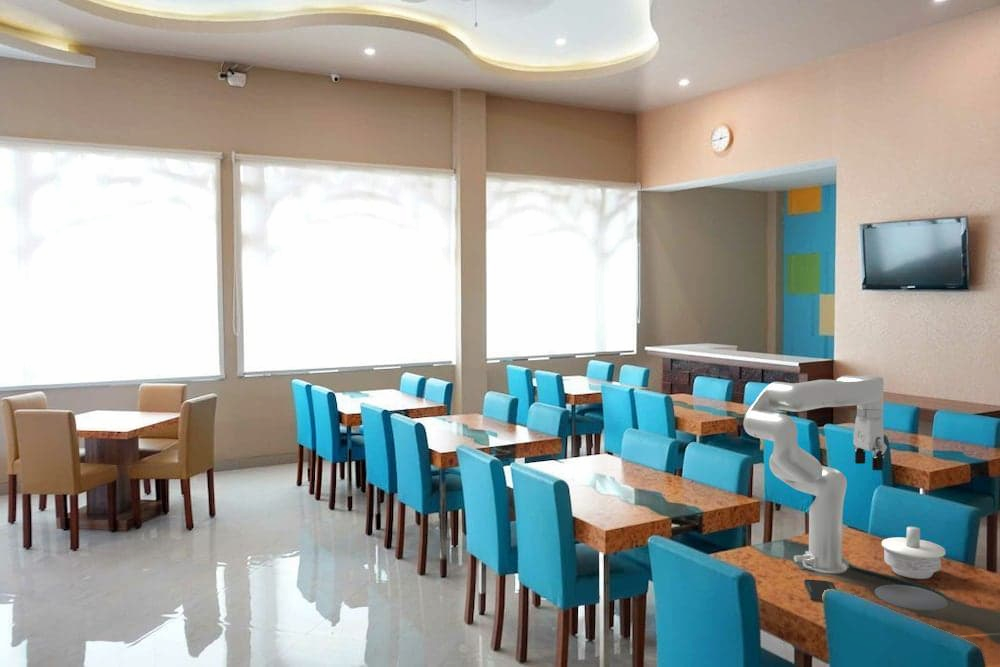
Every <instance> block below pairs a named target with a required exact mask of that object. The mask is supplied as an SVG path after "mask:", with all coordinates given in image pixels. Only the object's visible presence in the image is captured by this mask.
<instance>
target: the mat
mask: <svg viewBox="0 0 1000 667" xmlns="http://www.w3.org/2000/svg"><path fill="white" fill-rule="evenodd" d="M874 594H875V596H876V597H878V598H879V599H880V600H882V601H883V602H886V603H888V604H891V605H894V606H896V607H901V608H905V609H910V610H916V611H917V610H918V611H937V610H942V609H945V608H946V607H947V606H948V600H947V599H946V597H944V596H942V595H940V594H939V593H936V592H934V591H931V590H928V589H925V588H922V587H919V586H918V587H917V586H911V585H907V584H906V585H905V584H885V585H881V586H878V587H876V588H875V589H874Z"/></svg>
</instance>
